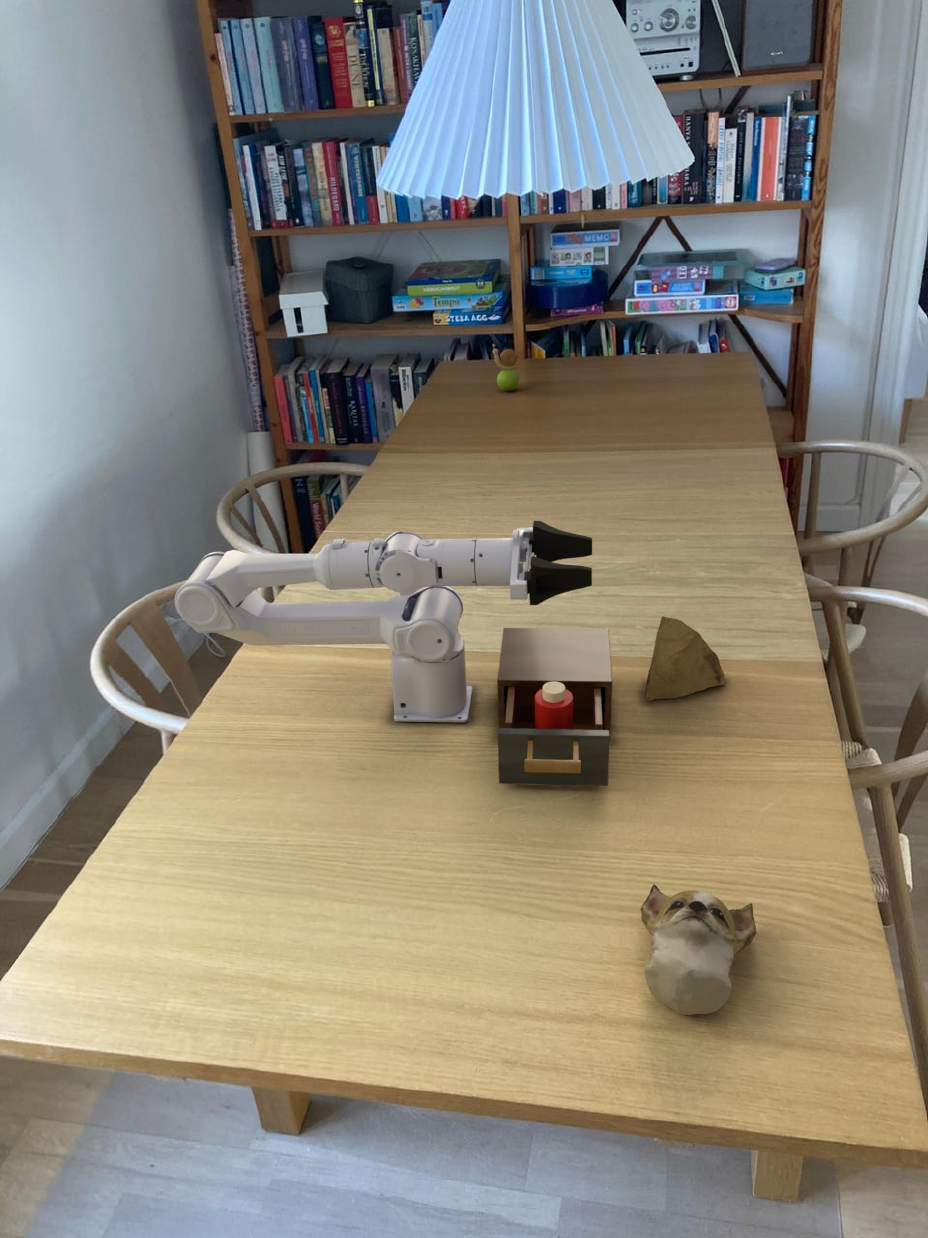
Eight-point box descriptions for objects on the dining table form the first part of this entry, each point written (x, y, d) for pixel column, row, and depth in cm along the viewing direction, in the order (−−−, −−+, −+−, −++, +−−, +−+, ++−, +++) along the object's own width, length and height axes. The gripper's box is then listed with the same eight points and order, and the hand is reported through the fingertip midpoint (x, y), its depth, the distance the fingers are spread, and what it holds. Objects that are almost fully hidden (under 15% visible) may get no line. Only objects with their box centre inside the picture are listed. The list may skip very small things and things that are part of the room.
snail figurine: (490, 389, 255) (489, 341, 249) (514, 386, 257) (513, 338, 251) (497, 395, 251) (496, 346, 245) (521, 392, 252) (521, 343, 246)
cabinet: (610, 742, 124) (612, 681, 119) (499, 740, 125) (497, 680, 121) (606, 686, 135) (608, 628, 130) (504, 684, 136) (503, 627, 132)
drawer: (609, 814, 111) (611, 763, 107) (496, 812, 112) (494, 761, 109) (605, 727, 125) (606, 679, 122) (504, 725, 126) (503, 678, 123)
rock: (732, 652, 136) (658, 634, 138) (740, 628, 128) (662, 609, 131) (714, 727, 133) (639, 707, 135) (721, 707, 125) (641, 686, 127)
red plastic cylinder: (534, 758, 118) (534, 697, 114) (535, 736, 122) (535, 676, 118) (572, 759, 118) (573, 698, 114) (572, 736, 122) (573, 677, 118)
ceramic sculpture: (623, 945, 84) (650, 836, 97) (617, 1020, 88) (644, 906, 101) (755, 974, 81) (765, 857, 94) (744, 1050, 85) (755, 928, 98)
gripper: (469, 561, 113) (591, 560, 111) (481, 505, 125) (592, 504, 124) (473, 615, 117) (591, 615, 115) (485, 556, 129) (592, 555, 127)
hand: (592, 561), depth 120 cm, fingers open, 7 cm apart
